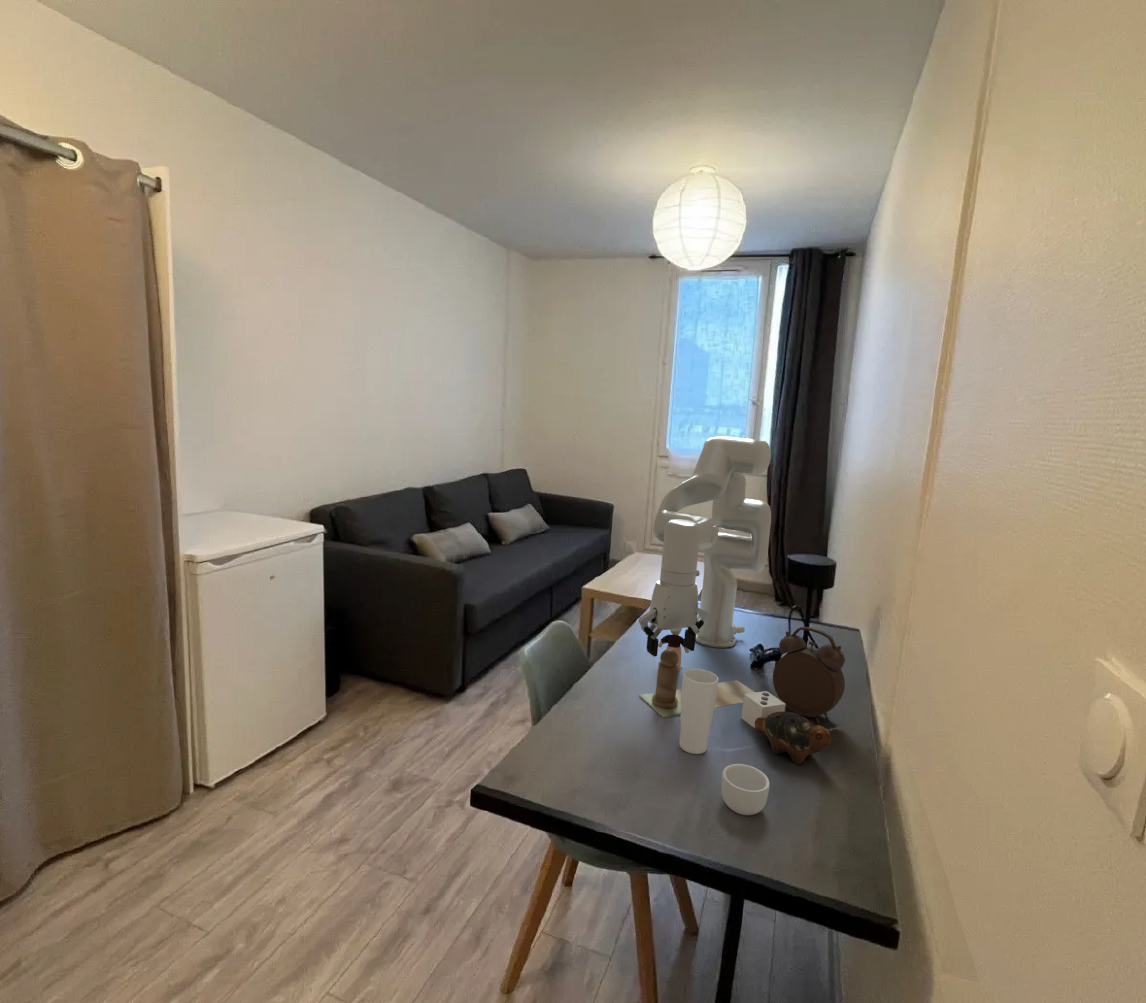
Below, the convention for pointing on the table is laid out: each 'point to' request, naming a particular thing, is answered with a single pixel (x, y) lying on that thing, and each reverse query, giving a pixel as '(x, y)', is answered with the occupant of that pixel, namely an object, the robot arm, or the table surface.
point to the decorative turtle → (793, 734)
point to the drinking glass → (697, 709)
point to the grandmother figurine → (674, 643)
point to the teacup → (744, 788)
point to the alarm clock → (809, 675)
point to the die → (760, 706)
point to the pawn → (667, 680)
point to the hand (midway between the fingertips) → (670, 651)
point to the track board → (725, 696)
